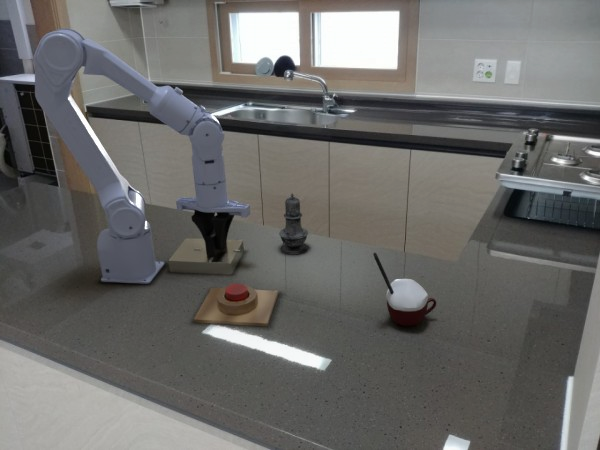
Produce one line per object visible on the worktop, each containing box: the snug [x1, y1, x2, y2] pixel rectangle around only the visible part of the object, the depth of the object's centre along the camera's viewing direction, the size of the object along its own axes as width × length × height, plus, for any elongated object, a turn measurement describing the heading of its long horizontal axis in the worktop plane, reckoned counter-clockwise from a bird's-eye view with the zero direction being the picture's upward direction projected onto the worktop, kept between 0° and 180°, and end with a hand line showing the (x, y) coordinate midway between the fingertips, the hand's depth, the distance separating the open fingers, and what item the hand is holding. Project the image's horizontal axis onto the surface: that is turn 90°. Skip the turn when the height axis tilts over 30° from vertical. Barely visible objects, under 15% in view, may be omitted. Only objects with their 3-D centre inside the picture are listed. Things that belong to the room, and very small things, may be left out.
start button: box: [225, 283, 248, 302], centre depth 88 cm, size 4×4×2 cm
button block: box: [193, 285, 280, 328], centre depth 89 cm, size 12×10×2 cm
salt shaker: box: [278, 193, 309, 255], centre depth 107 cm, size 6×6×12 cm
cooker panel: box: [168, 237, 245, 276], centre depth 105 cm, size 13×10×3 cm
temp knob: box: [205, 229, 227, 256], centre depth 103 cm, size 5×2×4 cm, turn 160°
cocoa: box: [373, 252, 437, 327], centre depth 82 cm, size 10×6×12 cm, turn 71°
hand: (216, 247), depth 104 cm, fingers closed on temp knob, 2 cm apart
